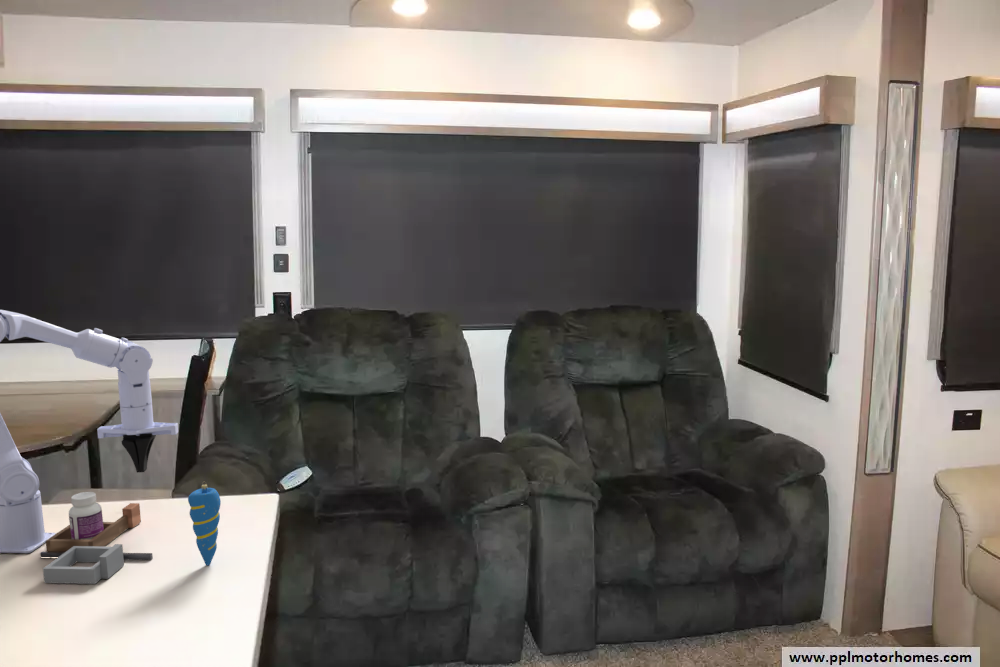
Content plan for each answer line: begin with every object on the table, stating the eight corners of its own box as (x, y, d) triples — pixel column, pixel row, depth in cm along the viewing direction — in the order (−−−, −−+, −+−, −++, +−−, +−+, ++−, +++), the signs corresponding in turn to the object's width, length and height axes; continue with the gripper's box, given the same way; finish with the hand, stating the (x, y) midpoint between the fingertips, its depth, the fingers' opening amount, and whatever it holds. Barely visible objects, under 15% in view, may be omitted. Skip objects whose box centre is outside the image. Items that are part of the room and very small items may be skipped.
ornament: (186, 567, 134) (179, 484, 132) (210, 556, 138) (204, 474, 136) (207, 574, 132) (201, 488, 129) (231, 561, 136) (225, 479, 134)
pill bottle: (111, 539, 146) (106, 490, 144) (93, 552, 140) (88, 501, 139) (84, 538, 146) (79, 489, 145) (65, 551, 141) (60, 500, 140)
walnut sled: (47, 554, 139) (44, 534, 139) (93, 521, 154) (92, 502, 153) (98, 555, 139) (96, 534, 138) (140, 521, 153) (139, 503, 153)
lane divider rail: (40, 558, 138) (40, 552, 138) (42, 556, 139) (42, 551, 139) (151, 560, 137) (150, 554, 137) (152, 558, 138) (152, 553, 137)
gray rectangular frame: (44, 582, 129) (42, 561, 128) (75, 559, 137) (73, 538, 136) (102, 583, 128) (100, 561, 127) (129, 560, 137) (127, 539, 136)
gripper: (89, 411, 148) (95, 479, 150) (169, 407, 150) (174, 475, 152) (102, 402, 155) (108, 467, 157) (178, 398, 157) (183, 463, 159)
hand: (141, 470), depth 155 cm, fingers closed
